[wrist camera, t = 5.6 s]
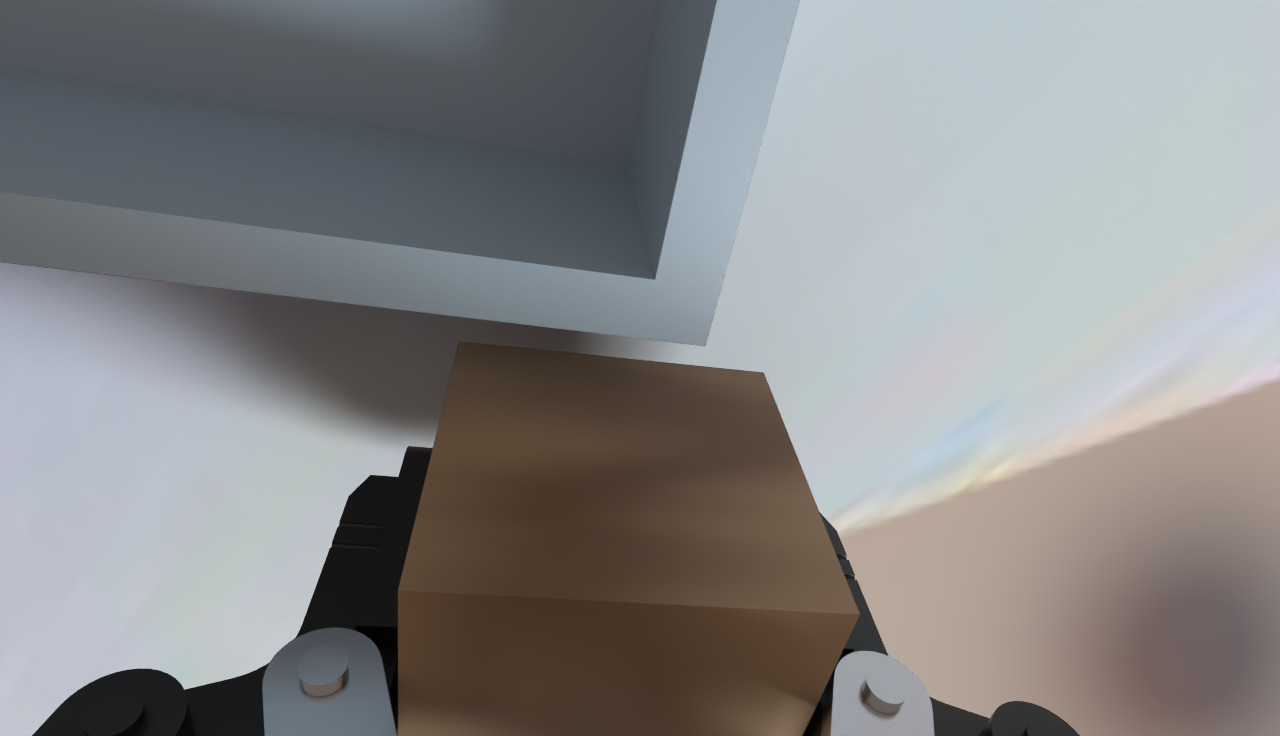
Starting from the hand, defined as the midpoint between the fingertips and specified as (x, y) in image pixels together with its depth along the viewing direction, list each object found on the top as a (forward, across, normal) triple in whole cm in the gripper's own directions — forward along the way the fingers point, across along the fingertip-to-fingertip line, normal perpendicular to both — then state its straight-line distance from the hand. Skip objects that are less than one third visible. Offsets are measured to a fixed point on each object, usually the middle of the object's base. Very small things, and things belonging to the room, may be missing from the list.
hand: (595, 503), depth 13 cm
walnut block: (+1, 0, 0) cm, 1 cm away
